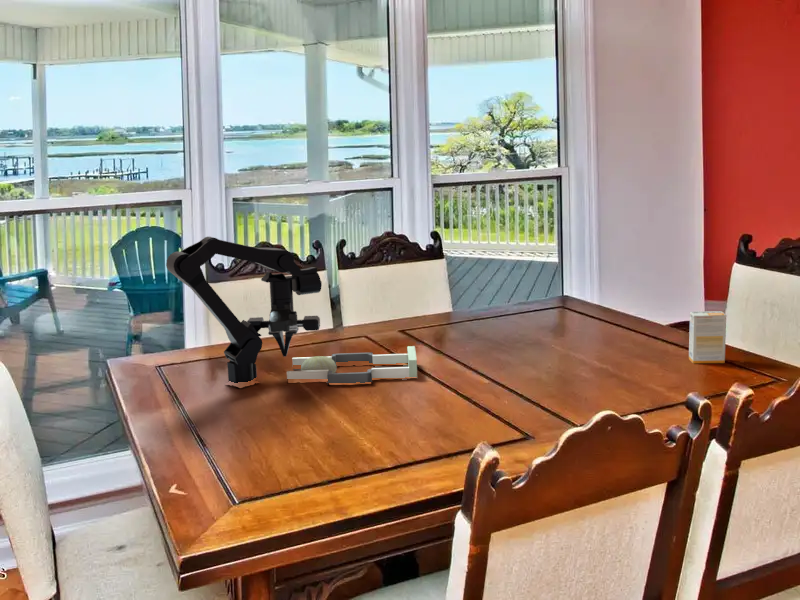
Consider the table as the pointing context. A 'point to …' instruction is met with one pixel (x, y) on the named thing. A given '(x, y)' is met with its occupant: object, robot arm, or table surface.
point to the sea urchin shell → (319, 364)
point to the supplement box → (707, 337)
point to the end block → (412, 361)
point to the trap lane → (356, 376)
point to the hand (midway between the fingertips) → (285, 356)
